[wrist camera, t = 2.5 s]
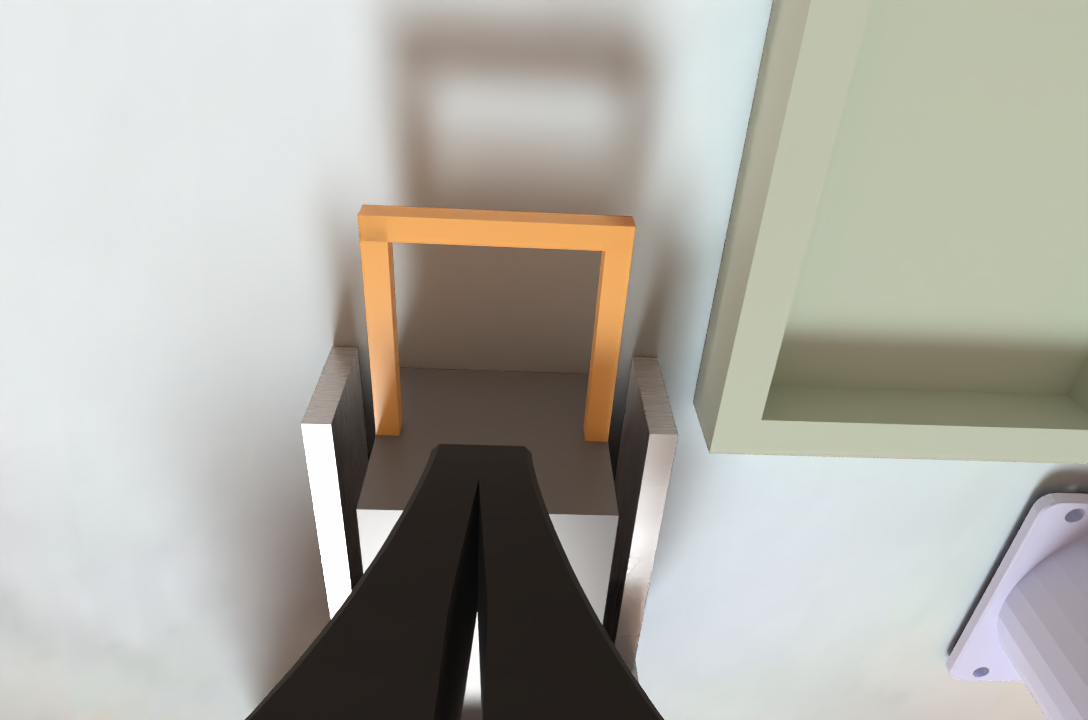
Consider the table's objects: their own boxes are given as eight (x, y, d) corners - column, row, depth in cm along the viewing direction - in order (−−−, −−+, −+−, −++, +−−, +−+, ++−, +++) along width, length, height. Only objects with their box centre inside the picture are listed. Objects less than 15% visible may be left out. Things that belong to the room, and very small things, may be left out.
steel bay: (661, 357, 18) (713, 541, 13) (613, 644, 24) (637, 846, 19) (328, 346, 18) (252, 531, 13) (362, 640, 24) (319, 846, 19)
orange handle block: (619, 175, 16) (653, 284, 12) (575, 566, 23) (587, 725, 18) (382, 164, 16) (330, 270, 12) (406, 562, 22) (379, 723, 18)
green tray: (1611, -575, 10) (1822, -662, 9) (1074, 414, 20) (1125, 464, 18) (902, -645, 10) (980, -753, 8) (693, 402, 19) (709, 453, 17)
